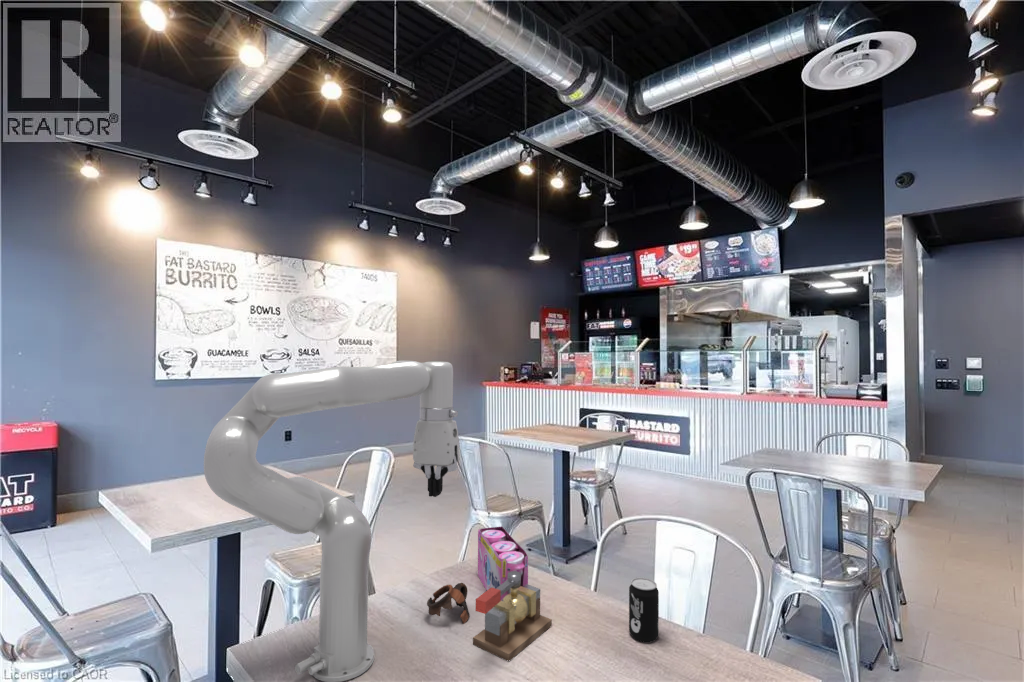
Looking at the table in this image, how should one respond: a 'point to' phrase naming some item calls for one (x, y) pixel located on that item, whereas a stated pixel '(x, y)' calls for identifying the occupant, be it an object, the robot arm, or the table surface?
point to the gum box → (499, 558)
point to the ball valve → (512, 609)
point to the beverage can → (643, 610)
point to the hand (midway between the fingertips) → (435, 494)
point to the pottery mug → (449, 600)
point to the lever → (497, 593)
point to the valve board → (513, 636)
